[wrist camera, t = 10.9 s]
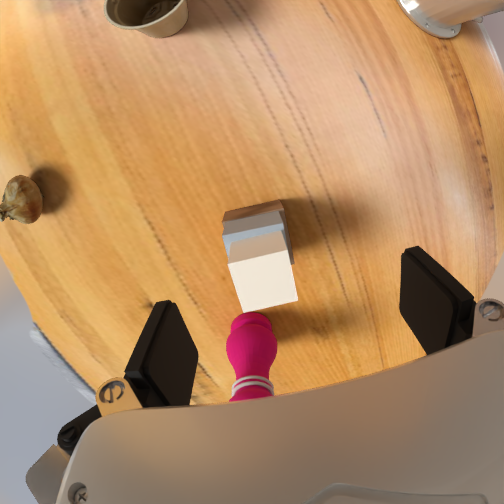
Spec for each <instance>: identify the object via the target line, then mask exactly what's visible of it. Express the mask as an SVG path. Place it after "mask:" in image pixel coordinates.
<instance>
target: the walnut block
mask: <svg viewBox="0 0 504 504" xmlns="http://www.w3.org/2000/svg"><path fill="white" fill-rule="evenodd" d="M275 211H279V214H280V217H281V219H282V222H283V226H284V231H285V236H286V242H287V247H288V253H289V258H290V264H291V265H292V264H295V263H294V258H293V253H292V247H291V242H290V237H289V232H288V227H287V222H286V217H285V212H284V208H283V206H282V204H281V202H280V200H275V201H270V202H266V203H261V204H257V205H253V206H248V207H244V208H240V209H235V210H231V211H227V212H225V214H224V217H223V221H222V223H223V227H224V226H225V222H228V221H233V220H237V219H242V218H247V217H251V216H256V215H261V214H266V213H271V212H275Z"/></svg>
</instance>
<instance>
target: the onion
mask: <svg viewBox="0 0 504 504" xmlns="http://www.w3.org/2000/svg"><path fill="white" fill-rule="evenodd" d="M42 196H43V195H42V193H41V191H40V189H39V188H38V186H37V185H36V184H35V182H34V181H33V180H31V179H30V178H28V177H26V176H23V175H19V176H15V177H14V178H12V179H11V180H10V181H9V182H8V184H7V186H6V188H5V192H4V195H3V200H2V202H3V203H2V204H1V205H0V221H4V219H5V217H6V218H7V217H10V220H11V219H12V220H14V219H15V220H18V221H19V222H21V223H23V224H30V223H33V222H35V221H36V220H37V219H38V218H39V217H40V215H41V212H42V208H43V202H42ZM43 197H44V196H43ZM44 198H45V197H44Z"/></svg>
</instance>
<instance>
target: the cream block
mask: <svg viewBox="0 0 504 504" xmlns="http://www.w3.org/2000/svg"><path fill="white" fill-rule="evenodd" d="M228 267H229V270H230V273H231V276H232V279H233V282H234V285H235V288H236V292H237V295H238V298H239V301H240V304H241V307H242V310H243V313H245V312H249V311H254V310H259V309H263V308H268V307H272V306H277V305H281V304H285V303H290V302H294V301H298V297H297V292H296V287H295V282H294V278H293V273H292V268H291V264H290V259H289V254H288V250H287V247H286V244H285V241H284V238H283V235H282V232H281V230H279V231H274V232H270V233H266V234H262V235H258V236H254V237H250V238H246V239H241V240H237V241H233V242H231V245H230V251H229V258H228Z"/></svg>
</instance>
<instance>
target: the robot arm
mask: <svg viewBox="0 0 504 504" xmlns="http://www.w3.org/2000/svg"><path fill="white" fill-rule="evenodd" d="M397 2H398V4H399V6H400V7H401V8H402V10H403V11H404V13H405V14H406V15H407V16H408V17H409V19H411V20H412V21H413V22H414V23H415V24H416V25H417V26H418V27H420V28H421V29H422V30H424V31H425V32H427V33H428V34H431V35H433V36H435V37H438V38H451V37H453V36H456V35H457V34H458V33H459V31H460V29H461V23H464V22H467V21H470V20H472V21H475V22H478V23H482V21H483V18H482V16H485V15H489V14H493V13H497V12H500V11H504V0H397ZM399 309H400V313H401V315H402V317H403V318H404V320H405V321H406V323H407V324H408V326H409V327H410V329H411V330H412V332H413V333H414V335H415V336H416V338H417V339H418V341H419V343H420V344H421V346H422V347H423V349H424V351H425V352H426V354H427V355H426V356H423V357H421V358H418V359H415V360H412V361H410V362H407V363H404V364H401V365H398V366H395V367H392V368H388V369H385V370H382V371H379V372H375V373H372V374H369V375H365V376H361V377H358V378H354V379H350V380H346V381H343V382H339V383H334V384H330V385H326V386H322V387H317V388H312V389H308V390H303V391H298V392H292V393H287V394H281V395H275V396H269V397H262V398H256V399H248V400H241V401H232V402H223V403H212V404H199V405H189V404H190V399H191V393H192V388H193V383H194V378H195V373H196V368H197V363H198V350H197V348H196V346H195V344H194V342H193V340H192V338H191V336H190V333H189V331H188V329H187V327H186V325H185V323H184V320H183V318H182V316H181V314H180V312H179V309H178V307H177V305H176V303H172V302H171V301H170V300H166V301H160V302H156V304H155V305H154V308H153V310H152V312H151V314H150V316H149V318H148V320H147V322H146V324H145V326H144V329H143V331H142V333H141V335H140V337H139V339H138V342H137V344H136V346H135V348H134V351H133V353H132V355H131V357H130V360H129V362H128V364H127V366H126V369H125V371H124V372H125V376H124V378H118V377H116V378H112V379H109V380H107V381H106V382H104V383H103V384H102V385H101V386H100V387H99V388H98V390H97V392H96V396H95V397H96V402H97V405H95V406H94V407H92V408H91V409H89V410H88V411H86V412H84V413H83V414H81V415H80V416H78V417H77V418H75V419H73V420H72V421H71V422H69V423H67V424H66V425H64V426H63V427H62V429H61V430H60V432H59V434H58V438H57V440H58V445H57V446H55V445H54V444H53V445H52V446H51V447H50V448H49V449H48V450H47V451H46V452H45V453H44V454H43V455H42V456H41V457H40V459H39V460H38V461H37V462H36V463H35V464H34V465H33V466H32V467H31V468H30V469H29V470H28V472H27V474H26V483H27V486H28V487H29V489H30V491H31V492H32V494H33V495H34V497H35V499H36V500H37V502H38V503H39V504H504V304H503V303H502V302H500V301H498V300H495V299H483V300H481V301H479V302H478V303H476V302H475V301H474V296H473V295H472V294H471V293H470V292H469V291H468V290H467V289H466V288H465V287H464V286H463V285H462V284H460V283H459V282H458V281H457V280H456V279H455V278H454V277H453V276H452V275H451V274H450V273H449V272H448V271H447V270H445V269H444V268H443V267H442V266H441V265H440V264H439V263H438V262H437V261H435V260H434V259H433V258H432V257H431V256H430V255H429V254H427V253H426V252H425V251H424V250H423V249H422V248H420V247H419V246H415V247H411V248H407V249H405V251H404V253H402V255H401V286H400V304H399Z"/></svg>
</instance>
